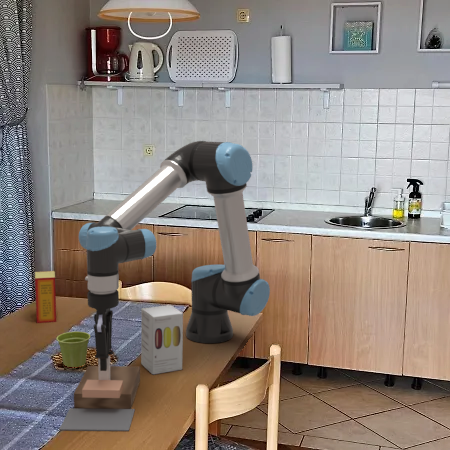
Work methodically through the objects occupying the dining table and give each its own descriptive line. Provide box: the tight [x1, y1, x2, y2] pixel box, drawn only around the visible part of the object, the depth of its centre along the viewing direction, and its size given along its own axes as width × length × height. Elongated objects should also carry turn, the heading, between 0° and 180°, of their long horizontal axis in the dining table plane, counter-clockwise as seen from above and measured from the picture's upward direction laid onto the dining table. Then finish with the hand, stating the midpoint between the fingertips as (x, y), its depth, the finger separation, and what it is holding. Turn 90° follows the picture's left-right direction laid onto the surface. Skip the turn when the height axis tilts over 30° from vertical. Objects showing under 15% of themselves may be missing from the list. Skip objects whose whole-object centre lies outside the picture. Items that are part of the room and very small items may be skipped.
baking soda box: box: [34, 270, 57, 324], centre depth 239 cm, size 10×6×16 cm
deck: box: [73, 365, 141, 409], centre depth 179 cm, size 14×18×4 cm
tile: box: [82, 380, 123, 398], centre depth 171 cm, size 9×6×2 cm, turn 89°
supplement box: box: [140, 304, 184, 375], centre depth 197 cm, size 10×9×17 cm
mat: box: [59, 407, 136, 432], centre depth 165 cm, size 16×11×1 cm
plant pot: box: [56, 331, 91, 367], centre depth 198 cm, size 9×9×9 cm
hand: (104, 380), depth 174 cm, fingers closed
